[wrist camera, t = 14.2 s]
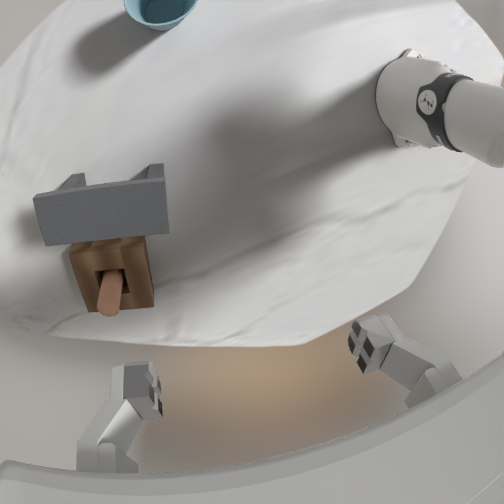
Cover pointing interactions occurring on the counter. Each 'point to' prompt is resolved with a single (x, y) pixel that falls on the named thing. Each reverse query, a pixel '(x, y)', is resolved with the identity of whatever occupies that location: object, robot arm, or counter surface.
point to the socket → (114, 257)
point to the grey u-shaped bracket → (103, 209)
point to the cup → (159, 12)
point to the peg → (110, 292)
